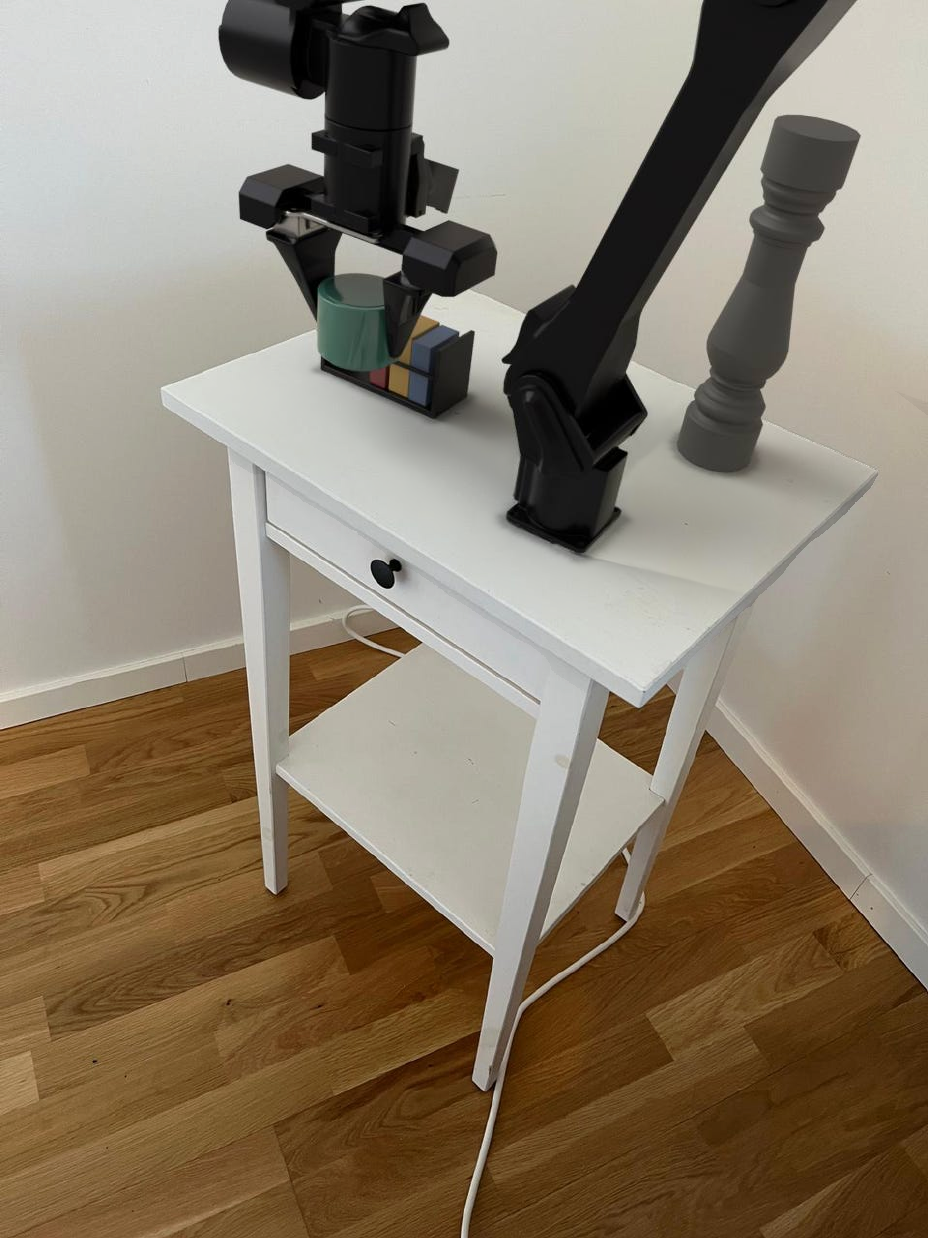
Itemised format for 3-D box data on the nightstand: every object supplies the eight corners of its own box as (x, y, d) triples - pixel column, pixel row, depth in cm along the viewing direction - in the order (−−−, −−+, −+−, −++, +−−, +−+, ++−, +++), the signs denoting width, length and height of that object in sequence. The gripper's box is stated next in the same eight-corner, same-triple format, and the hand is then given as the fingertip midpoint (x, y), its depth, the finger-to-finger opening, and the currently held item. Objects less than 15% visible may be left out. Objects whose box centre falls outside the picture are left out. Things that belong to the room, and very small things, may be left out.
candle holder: (673, 461, 79) (770, 130, 63) (679, 425, 84) (771, 107, 67) (749, 478, 79) (867, 148, 62) (751, 440, 83) (862, 124, 67)
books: (453, 388, 84) (460, 329, 80) (425, 406, 81) (431, 345, 77) (398, 365, 86) (402, 306, 82) (369, 382, 83) (372, 322, 79)
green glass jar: (418, 354, 75) (423, 291, 72) (367, 383, 71) (370, 318, 68) (352, 327, 78) (354, 264, 74) (299, 354, 73) (298, 289, 70)
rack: (467, 396, 84) (475, 330, 80) (433, 419, 80) (440, 351, 76) (356, 349, 88) (358, 284, 84) (319, 369, 85) (320, 302, 81)
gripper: (553, 131, 65) (520, 347, 76) (334, 66, 72) (331, 273, 82) (462, 166, 58) (439, 400, 68) (227, 89, 65) (238, 314, 75)
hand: (360, 341), depth 74 cm, fingers closed on green glass jar, 6 cm apart
